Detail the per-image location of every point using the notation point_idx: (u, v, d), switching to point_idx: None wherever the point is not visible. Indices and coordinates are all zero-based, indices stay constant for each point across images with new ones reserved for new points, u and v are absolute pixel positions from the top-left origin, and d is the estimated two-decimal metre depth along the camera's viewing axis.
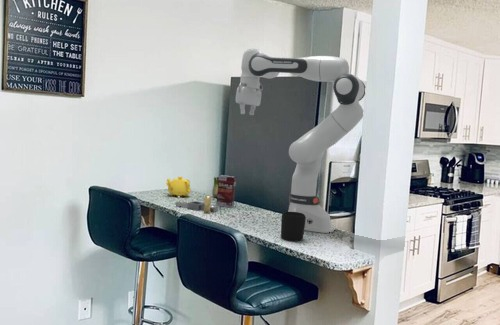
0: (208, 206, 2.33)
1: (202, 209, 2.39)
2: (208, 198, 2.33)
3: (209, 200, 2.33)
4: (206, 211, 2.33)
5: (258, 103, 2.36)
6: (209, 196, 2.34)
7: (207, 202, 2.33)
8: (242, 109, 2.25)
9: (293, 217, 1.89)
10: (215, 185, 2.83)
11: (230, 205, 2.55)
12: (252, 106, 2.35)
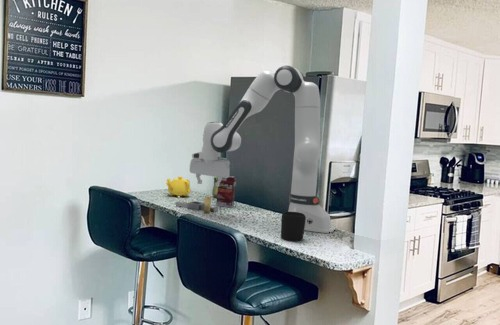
0: (208, 206, 2.33)
1: (202, 209, 2.39)
2: (208, 198, 2.33)
3: (209, 200, 2.33)
4: (206, 211, 2.33)
5: None
6: (209, 196, 2.34)
7: (207, 202, 2.33)
8: (219, 182, 2.31)
9: (293, 217, 1.89)
10: None
11: (230, 205, 2.55)
12: (199, 175, 2.36)
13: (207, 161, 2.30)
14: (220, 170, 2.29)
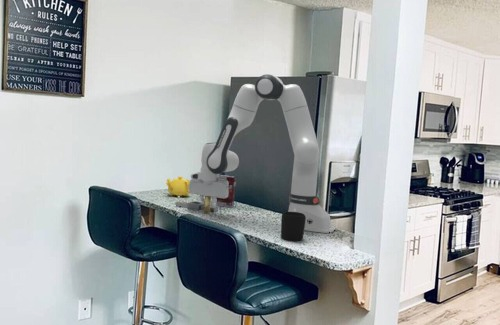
0: (208, 206, 2.33)
1: (202, 209, 2.39)
2: (208, 198, 2.33)
3: (209, 200, 2.33)
4: (206, 211, 2.33)
5: None
6: (209, 196, 2.34)
7: (207, 202, 2.33)
8: (213, 202, 2.33)
9: (293, 217, 1.89)
10: None
11: (230, 205, 2.55)
12: (203, 196, 2.35)
13: (206, 182, 2.31)
14: (219, 191, 2.29)
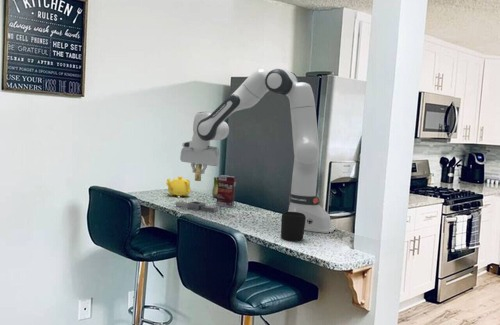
0: (199, 174, 2.40)
1: (202, 209, 2.39)
2: (199, 166, 2.40)
3: (200, 168, 2.40)
4: (197, 178, 2.40)
5: None
6: (200, 164, 2.41)
7: (198, 170, 2.40)
8: (204, 169, 2.40)
9: (293, 217, 1.89)
10: (215, 185, 2.83)
11: (230, 205, 2.55)
12: (194, 164, 2.42)
13: (197, 150, 2.38)
14: (210, 158, 2.36)
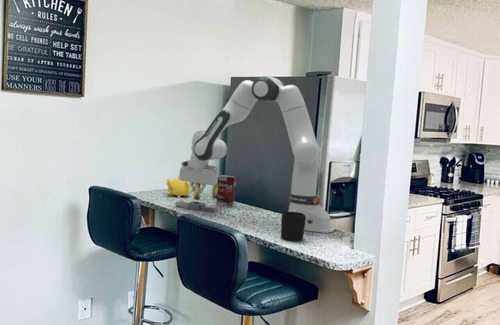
0: (198, 193, 2.41)
1: (202, 209, 2.39)
2: (198, 185, 2.41)
3: (199, 187, 2.41)
4: (196, 197, 2.41)
5: None
6: (199, 183, 2.42)
7: (197, 189, 2.41)
8: (203, 188, 2.41)
9: (293, 217, 1.89)
10: (215, 185, 2.83)
11: (230, 205, 2.55)
12: (193, 183, 2.43)
13: (196, 169, 2.38)
14: (208, 177, 2.37)
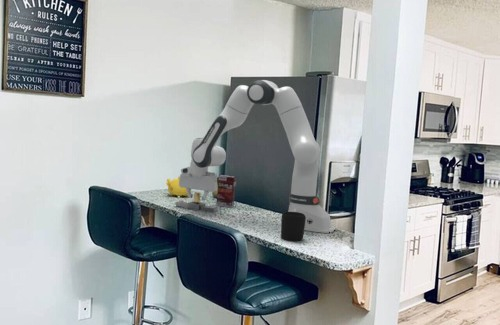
0: (198, 203, 2.41)
1: (202, 209, 2.39)
2: (197, 194, 2.41)
3: (198, 196, 2.41)
4: None
5: None
6: (198, 193, 2.42)
7: (197, 199, 2.41)
8: (206, 195, 2.41)
9: (293, 217, 1.89)
10: None
11: (230, 205, 2.55)
12: (190, 189, 2.44)
13: (195, 176, 2.39)
14: (208, 184, 2.37)
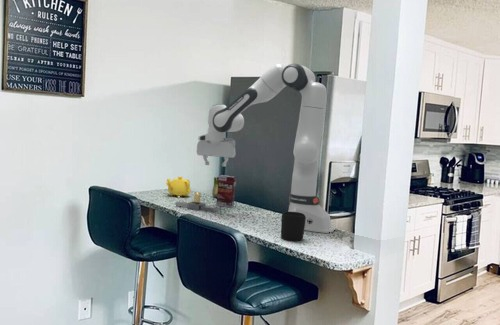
0: (198, 203, 2.41)
1: (202, 209, 2.39)
2: (197, 195, 2.41)
3: (198, 196, 2.41)
4: None
5: None
6: (198, 193, 2.42)
7: (197, 199, 2.41)
8: (226, 162, 2.40)
9: (293, 217, 1.89)
10: (215, 185, 2.83)
11: (230, 205, 2.55)
12: (206, 156, 2.44)
13: (213, 142, 2.39)
14: (226, 150, 2.38)
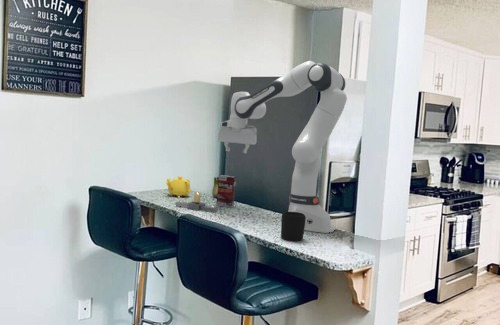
0: (198, 203, 2.41)
1: (202, 209, 2.39)
2: (197, 195, 2.41)
3: (198, 196, 2.41)
4: None
5: None
6: (198, 193, 2.42)
7: (197, 199, 2.41)
8: (246, 149, 2.42)
9: (293, 217, 1.89)
10: (215, 185, 2.83)
11: (230, 205, 2.55)
12: (227, 143, 2.47)
13: (235, 129, 2.41)
14: (248, 137, 2.40)
